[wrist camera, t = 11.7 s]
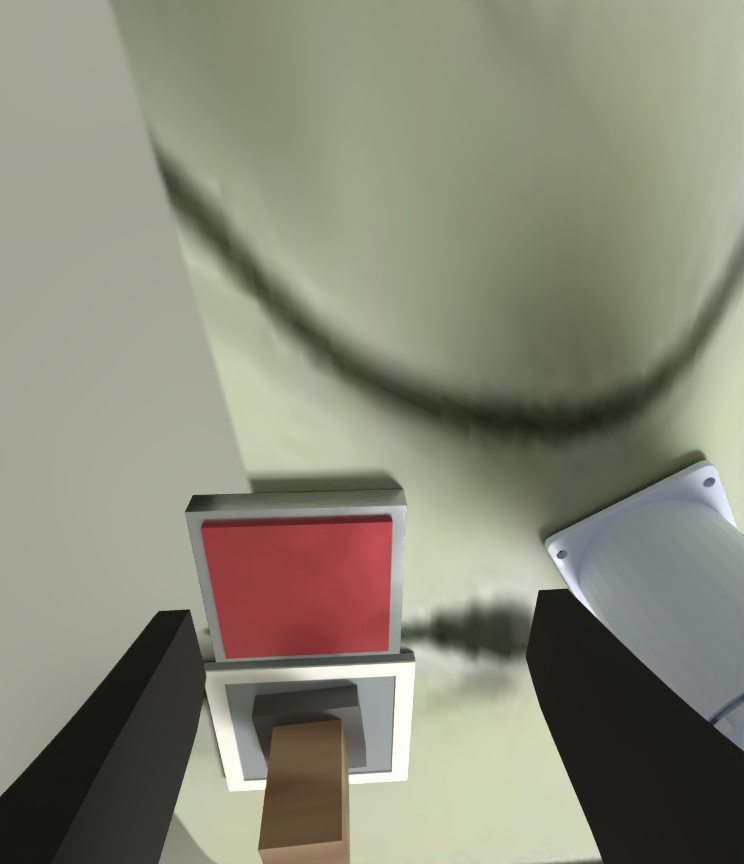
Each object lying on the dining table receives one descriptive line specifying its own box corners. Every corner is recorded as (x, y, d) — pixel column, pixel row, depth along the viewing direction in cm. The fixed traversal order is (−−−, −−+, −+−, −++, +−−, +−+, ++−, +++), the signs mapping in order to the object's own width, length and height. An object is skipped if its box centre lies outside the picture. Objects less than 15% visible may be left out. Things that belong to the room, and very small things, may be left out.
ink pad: (397, 633, 25) (400, 659, 24) (221, 641, 25) (214, 668, 23) (403, 489, 21) (407, 509, 20) (192, 495, 21) (182, 516, 19)
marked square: (405, 770, 31) (407, 780, 30) (231, 780, 30) (229, 791, 30) (414, 652, 26) (415, 662, 25) (204, 662, 25) (201, 672, 25)
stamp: (365, 745, 29) (372, 886, 23) (272, 755, 29) (255, 899, 23) (357, 684, 26) (362, 827, 20) (254, 695, 26) (231, 841, 20)
